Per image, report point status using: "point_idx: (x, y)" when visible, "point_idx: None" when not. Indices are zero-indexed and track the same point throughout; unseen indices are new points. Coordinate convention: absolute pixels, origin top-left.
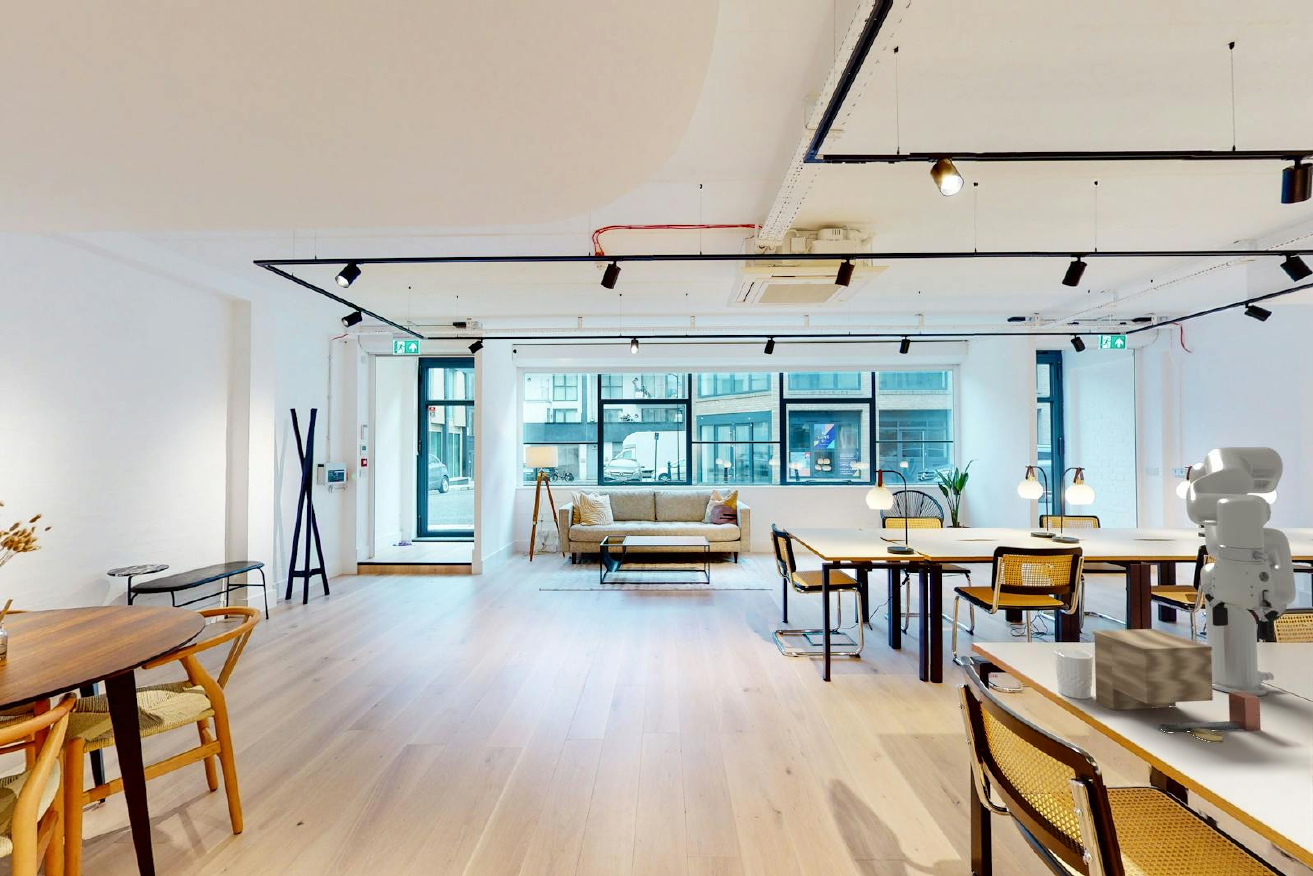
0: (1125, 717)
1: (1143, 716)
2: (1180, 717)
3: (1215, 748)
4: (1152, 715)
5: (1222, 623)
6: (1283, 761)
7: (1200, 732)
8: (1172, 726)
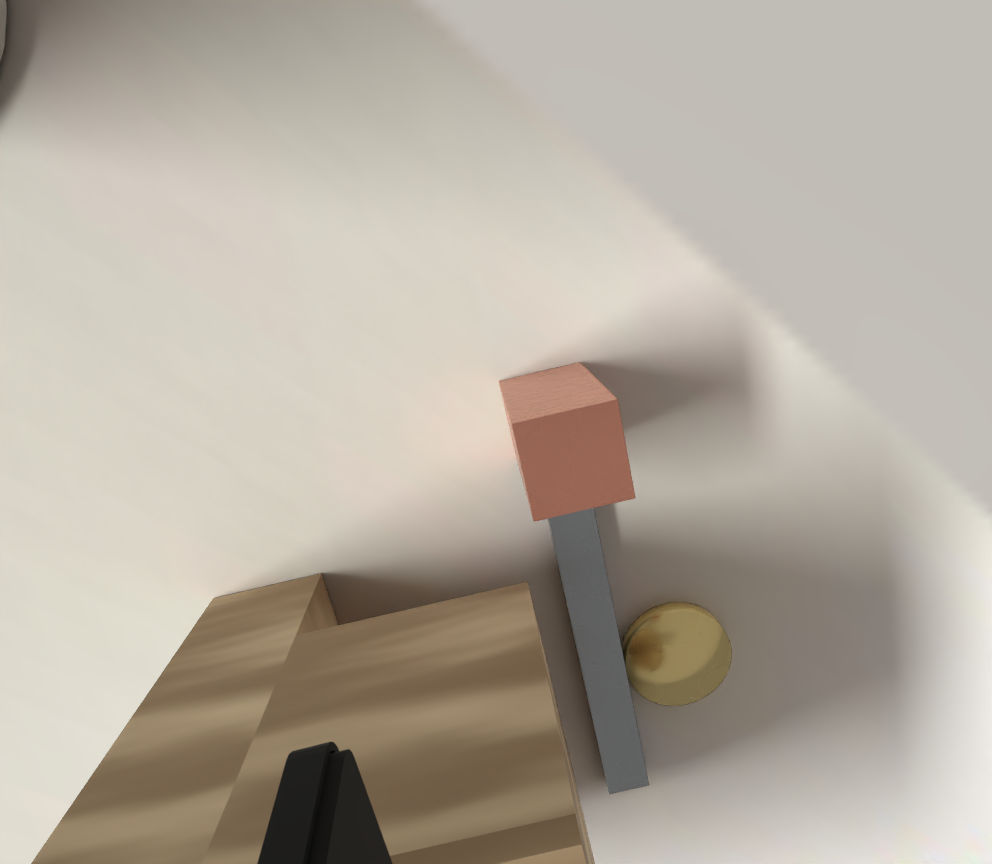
0: None
1: None
2: None
3: (775, 680)
4: None
5: (377, 855)
6: (889, 508)
7: (677, 682)
8: (624, 754)
